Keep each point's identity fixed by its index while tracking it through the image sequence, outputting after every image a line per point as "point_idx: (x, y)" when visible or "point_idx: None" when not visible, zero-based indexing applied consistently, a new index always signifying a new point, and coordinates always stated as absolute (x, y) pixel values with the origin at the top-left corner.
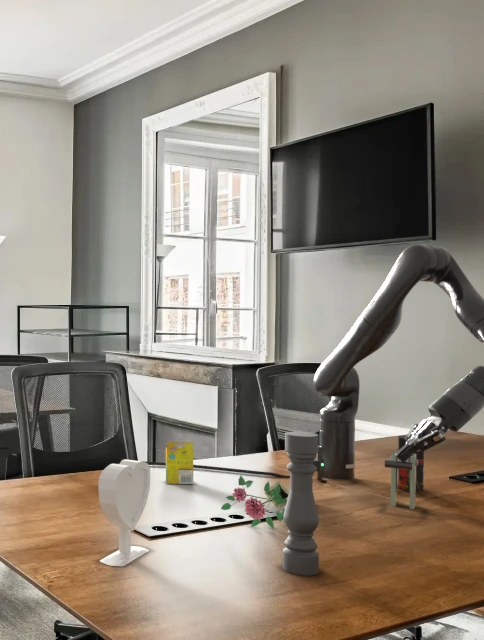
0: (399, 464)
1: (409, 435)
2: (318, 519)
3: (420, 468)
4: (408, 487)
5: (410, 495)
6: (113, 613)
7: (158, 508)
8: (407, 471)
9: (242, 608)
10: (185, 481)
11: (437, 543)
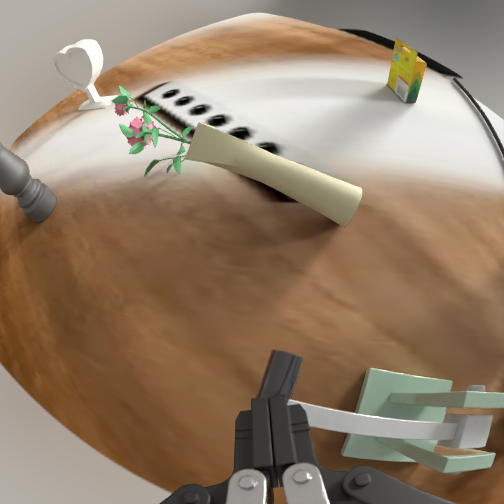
0: None
1: (369, 499)
2: (2, 190)
3: None
4: None
5: (390, 438)
6: (25, 135)
7: (253, 79)
8: None
9: None
10: (399, 93)
11: (141, 422)
